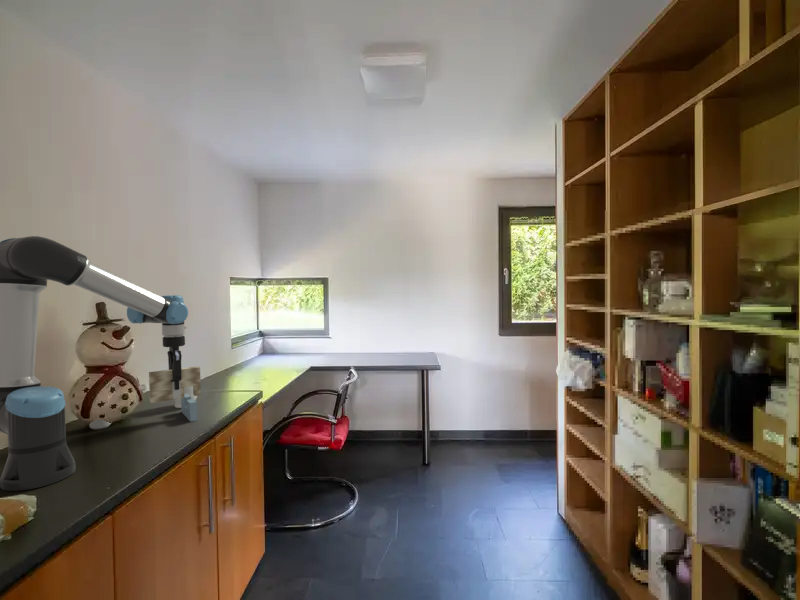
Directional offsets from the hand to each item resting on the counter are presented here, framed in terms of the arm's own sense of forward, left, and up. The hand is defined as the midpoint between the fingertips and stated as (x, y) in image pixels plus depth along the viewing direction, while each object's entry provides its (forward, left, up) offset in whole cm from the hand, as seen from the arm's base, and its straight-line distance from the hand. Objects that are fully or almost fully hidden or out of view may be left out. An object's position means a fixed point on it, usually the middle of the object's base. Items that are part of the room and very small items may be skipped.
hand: (175, 396), depth 162 cm
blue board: (+4, 0, -8) cm, 9 cm away
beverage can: (-24, +7, -9) cm, 26 cm away
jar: (+6, +17, -9) cm, 20 cm away
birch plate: (0, 0, -1) cm, 1 cm away
